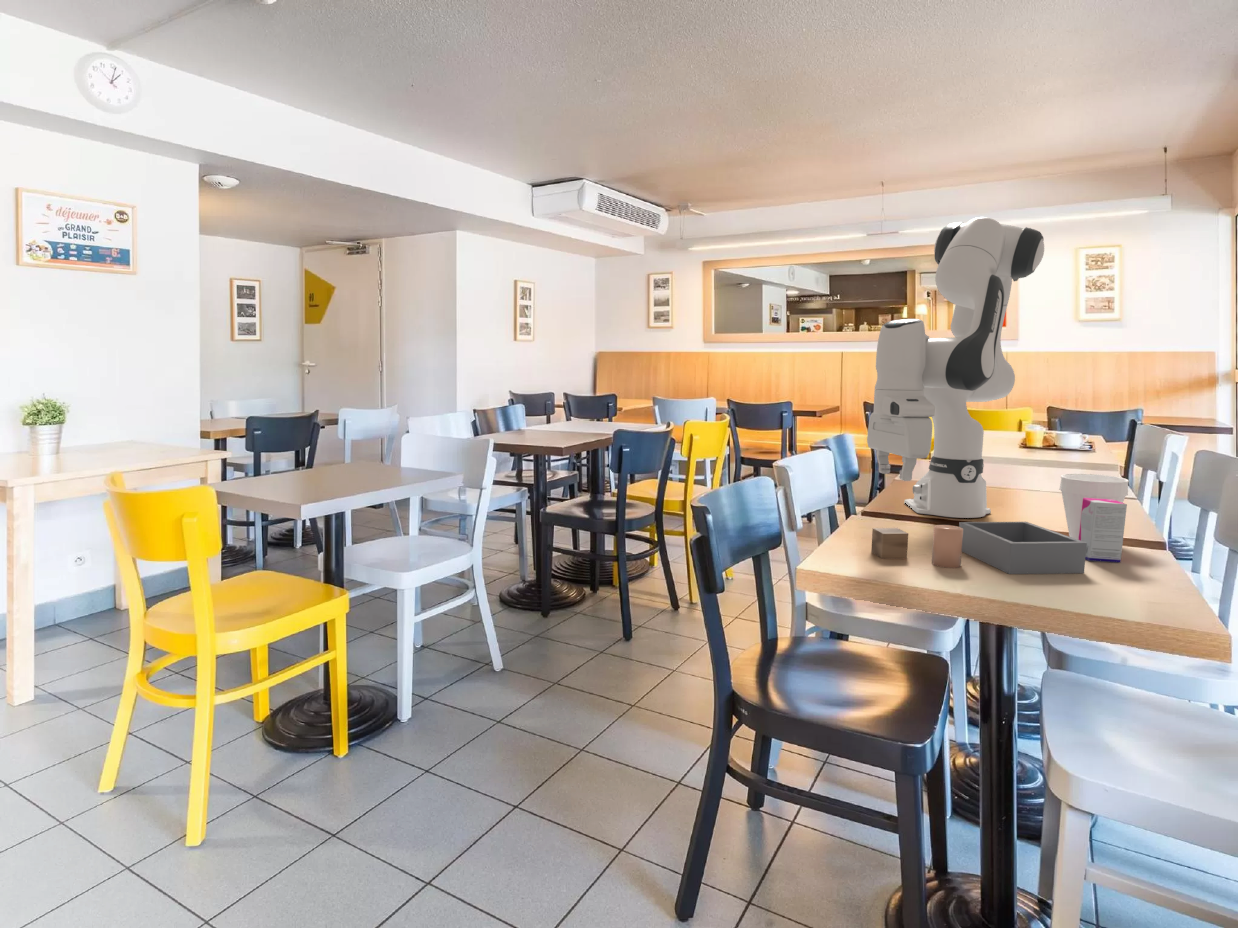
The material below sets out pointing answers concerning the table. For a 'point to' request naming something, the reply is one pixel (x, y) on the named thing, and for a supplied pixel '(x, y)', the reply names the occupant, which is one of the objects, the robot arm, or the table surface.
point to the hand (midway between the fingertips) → (894, 476)
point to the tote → (1023, 548)
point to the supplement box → (1102, 529)
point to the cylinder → (947, 546)
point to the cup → (1088, 494)
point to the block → (889, 543)
